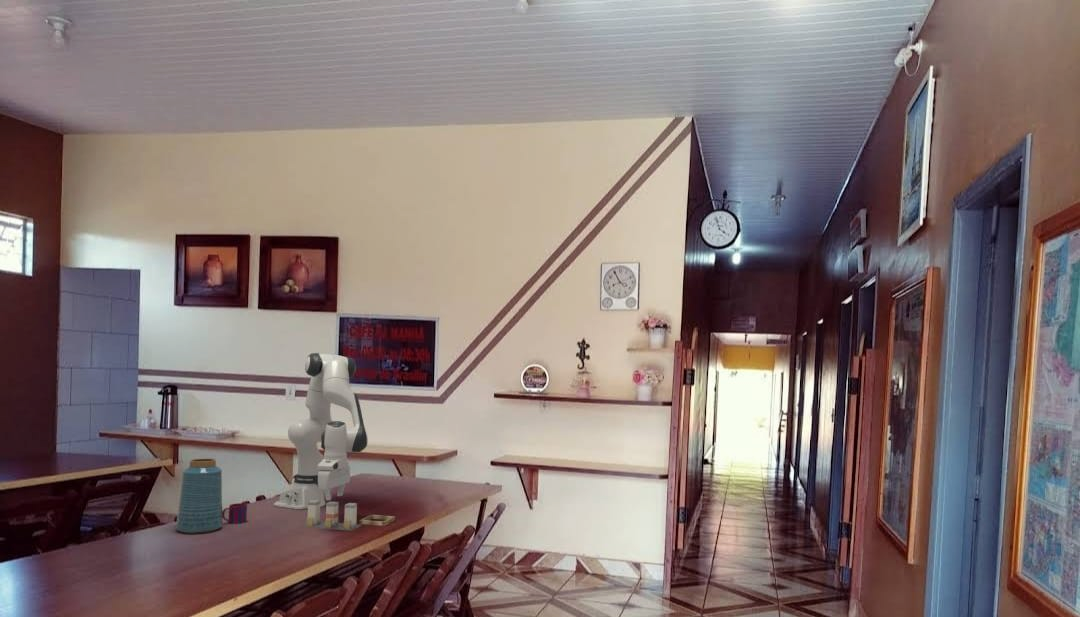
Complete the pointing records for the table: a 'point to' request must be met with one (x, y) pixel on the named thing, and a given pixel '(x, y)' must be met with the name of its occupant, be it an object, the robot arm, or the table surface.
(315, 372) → the robot arm
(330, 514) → the fuse marked
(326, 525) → the fuse board
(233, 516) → the mug
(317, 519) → the block
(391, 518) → the tray
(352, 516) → the fuse right
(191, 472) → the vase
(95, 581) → the table surface
